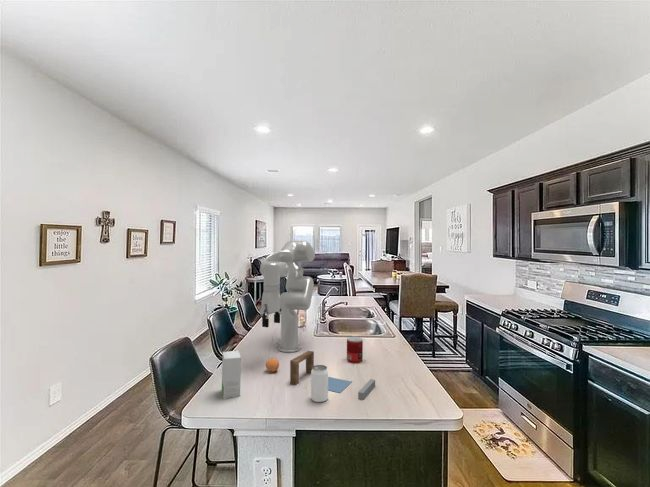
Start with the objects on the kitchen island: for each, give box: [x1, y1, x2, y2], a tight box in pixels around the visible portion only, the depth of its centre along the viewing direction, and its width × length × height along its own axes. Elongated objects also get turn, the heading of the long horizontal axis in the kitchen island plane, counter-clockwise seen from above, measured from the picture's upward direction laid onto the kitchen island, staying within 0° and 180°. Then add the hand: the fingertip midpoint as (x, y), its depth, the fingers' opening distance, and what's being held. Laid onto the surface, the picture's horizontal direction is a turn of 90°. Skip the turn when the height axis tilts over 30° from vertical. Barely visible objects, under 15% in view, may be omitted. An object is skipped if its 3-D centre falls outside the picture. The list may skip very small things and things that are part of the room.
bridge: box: [289, 350, 315, 386], centre depth 150 cm, size 3×15×10 cm, turn 153°
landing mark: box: [328, 376, 353, 394], centre depth 143 cm, size 12×12×1 cm
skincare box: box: [221, 350, 242, 400], centre depth 135 cm, size 8×7×16 cm
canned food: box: [346, 336, 364, 364], centre depth 172 cm, size 8×8×11 cm
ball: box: [265, 357, 280, 373], centre depth 157 cm, size 6×6×6 cm
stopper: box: [357, 378, 376, 400], centre depth 136 cm, size 2×14×2 cm, turn 153°
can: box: [310, 364, 329, 403], centre depth 130 cm, size 6×6×12 cm
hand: (271, 324), depth 162 cm, fingers open, 9 cm apart
